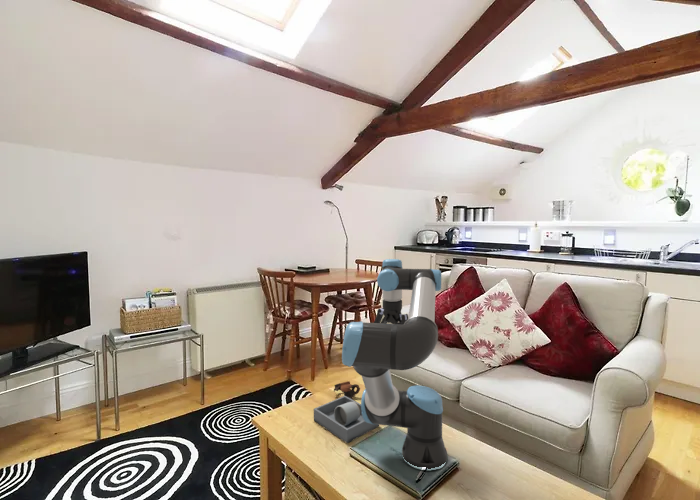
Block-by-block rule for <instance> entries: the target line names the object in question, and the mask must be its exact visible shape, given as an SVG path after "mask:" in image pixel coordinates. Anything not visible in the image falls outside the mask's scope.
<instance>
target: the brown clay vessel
mask: <svg viewBox="0 0 700 500" xmlns="http://www.w3.org/2000/svg"><path fill="white" fill-rule="evenodd" d="M355 389H356V390H355ZM360 390H361V387H360V385H359V384H351V381H350V380H349V381H348V380H347V381H344V382H340V383H336V384H334V389H333V392H334V393H335V392H338V391H341V392H342V393H343V396H347V397H348V398H350V399H352V400H354V397H355V396H356V395H357V394H359V392H360Z"/></svg>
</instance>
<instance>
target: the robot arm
mask: <svg viewBox="0 0 700 500" xmlns="http://www.w3.org/2000/svg"><path fill="white" fill-rule="evenodd" d="M381 268H382V270H380V272H379V273H378V276H377V277H376V281H377V285H378V287H379V289H380V290H381V291H382V308H378V309H377V312H376V313H377V314H376V316H375V319H374V321H373V322H365V321H364V322H363V321H351V322H349V323H348V324H347V325H346V327H345V331H344V336H343V342H342V348H341V349H342V350H341V362H342V364H343V365H344V366H347V367H349V368H350V367H352V368H353V369H354V371H355V372H356V373H357V374H358V375H360V376H361V378H362V381H363V384H364V390H363V391H362V395H361V403H360V404H361V410H362V417H363V419H364V421H365V422H367V423H370V424H373V425H377V424H378V425H379V426H380V425H381V426H387V427H396V428H404V429H406V430H407V431H406V432H407V433H406V436H405V439H404V441H403V444H402V447H401V448H402V449H401V456H402V455H403V457H404V459H405V460H406V461H407V462H409V463H410V464H412V465H414V466H417V467H426V468H428V469H431V468H435V467H439V466H441V465H442V464H444V463H445V462H446V460H447V461H448V451H447V448H446V447H445V442H444V439H443V412H444V407H443V398H442V396H441V394H440V393H439V392H438V391H436V390H435V389H433V388H432V387H428V386H425V385H417V384H416V385H412V386H409V387H408V388H407V390H400V389H399V390H398V389H397V387H396V386H395V385H394V384H393V380H392V379H393V378H392V375H391V370H394V371H406V370H411V369H413V368H416V367H417V366H420V365H421V364H423V362H425V361H426V360H427V359H428V358H429V357H430V356H431V354H432V353H433V352H434V350H435V349H436V346H437V343H438V341H439V329H438V325H437V324H436V322H435V319H436V318H435V317H436V315H435V314H436V313H435V312H436V292H439V291H441V290H442V271H441V270H440V269H435V268H434V269H433V268H403V261H402V260H401V259H399V258H389V259H388V258H386V259H383V261H382V266H381ZM403 291H412V292H411V296H410V303H409V304H410V305H409V311H408V313H406V314H405V313H404V314H402V310H403V300H402V299H403Z"/></svg>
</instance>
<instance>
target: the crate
mask: <svg viewBox="0 0 700 500" xmlns="http://www.w3.org/2000/svg"><path fill="white" fill-rule="evenodd" d="M348 402H355V403H357V405H358V406H359V408H360V417H359V418H358V419H357V420H355V421H353V422H352V423H350V424H348V425H346V426H343V425H341V424H340V423H338V422H337V421H336V419H335V417H334V411H335V408H336V407H337V406H339V405H342V404H345V403H348ZM313 422H315V423H317V424H318V425H319V426H321V427H322V428H324V429H325V430H327V431H328V432H330V433H332V434H333V435H334V436H336V437H337V438H338V439H340V440H342V442H344V443H346V444H348V443H350V442H352V441H354V440H356V439H358V438H360V437H362V436H364V435H366V434H367V433H369V432H371V431H373V430H375V429H377V428H378V427H380V425H378V424H377V425H373V424H370V423H367V422H365V421H364V419H363V417H362V410H361V403H360V402H357V401H355V400H354V399H353V400H352V399H350V398H348V397H347V396H344V395H343V396H340V397H338V398H336V399H334V400H332V401H329V402H326V403H324V404H321V405H319V406H317V407H315V408H313Z"/></svg>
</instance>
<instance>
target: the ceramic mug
mask: <svg viewBox="0 0 700 500" xmlns="http://www.w3.org/2000/svg"><path fill="white" fill-rule="evenodd" d="M334 417H335V419H336V421H337V422H338V423H340V424H341V425H343V426H346V425H348V424H350V423H352V422H353V421H355V420H357V419H358V418H359V417H360V408H359V406H358V405H357V403H355V402H348V403H345V404H342V405H339V406H337V407H336V408H335V411H334Z"/></svg>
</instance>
